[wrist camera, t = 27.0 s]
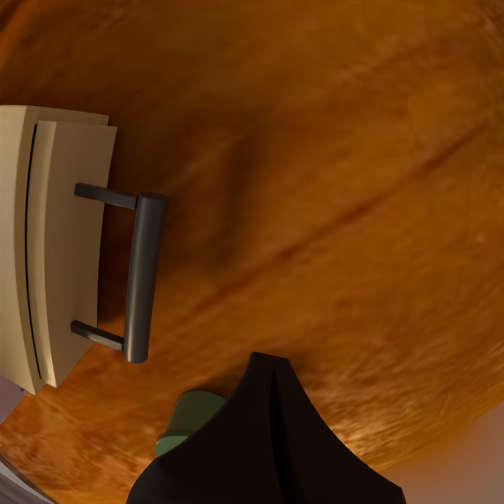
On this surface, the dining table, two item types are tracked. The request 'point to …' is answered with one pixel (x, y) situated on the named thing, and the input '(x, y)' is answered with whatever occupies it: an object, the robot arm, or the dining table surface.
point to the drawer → (82, 247)
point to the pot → (188, 418)
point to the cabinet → (20, 236)
